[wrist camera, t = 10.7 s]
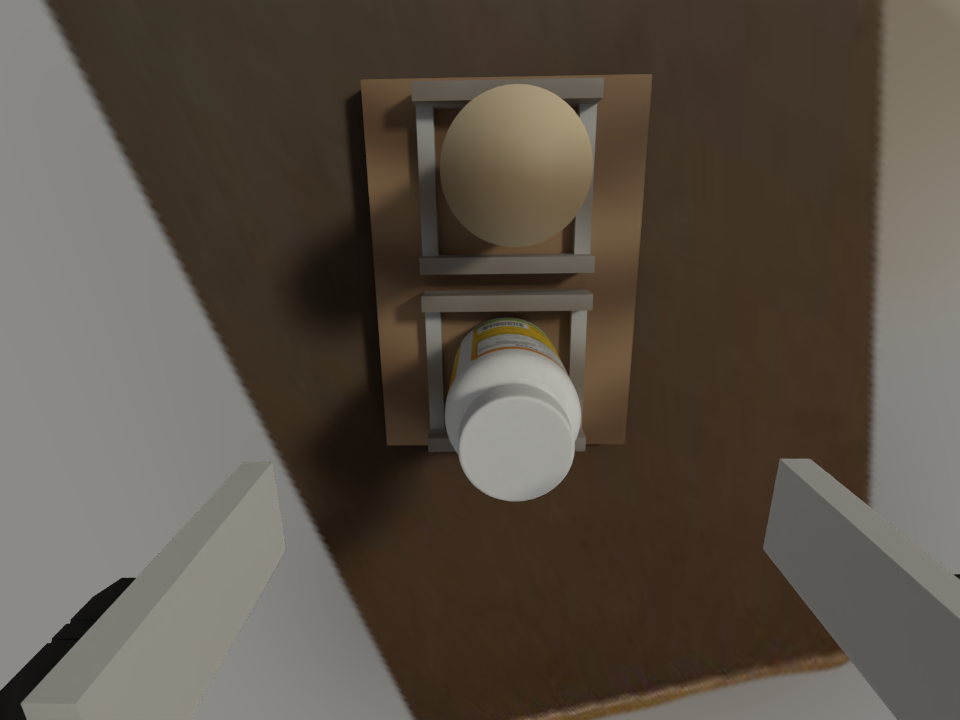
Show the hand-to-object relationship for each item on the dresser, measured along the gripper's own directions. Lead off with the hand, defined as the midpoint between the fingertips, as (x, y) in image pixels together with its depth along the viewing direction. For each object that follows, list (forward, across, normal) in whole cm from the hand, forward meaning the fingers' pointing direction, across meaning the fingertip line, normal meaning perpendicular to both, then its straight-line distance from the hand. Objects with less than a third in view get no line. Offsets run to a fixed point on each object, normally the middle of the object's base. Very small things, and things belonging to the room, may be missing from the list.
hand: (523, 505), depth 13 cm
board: (+15, 0, +4) cm, 15 cm away
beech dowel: (+14, 0, +8) cm, 16 cm away
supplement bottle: (+14, 0, -1) cm, 14 cm away
